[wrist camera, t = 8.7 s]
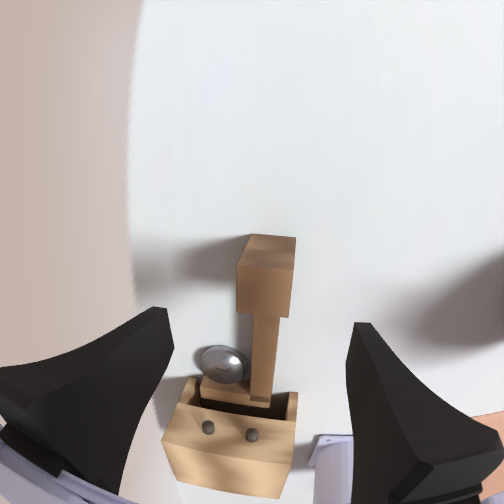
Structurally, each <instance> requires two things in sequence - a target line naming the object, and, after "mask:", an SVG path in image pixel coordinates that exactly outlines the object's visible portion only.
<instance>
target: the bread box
mask: <svg viewBox="0 0 504 504" xmlns="http://www.w3.org/2000/svg"><path fill="white" fill-rule="evenodd" d="M297 402H298V393H295V392H290V393H289V398H288V403H287V408H286V412H285V417H284V421H283V420H274V419H266V418H258V417H251V416H244V415H238V414H232V413H226V412H221V411H215V410H210V409H205V408H201V405H200V397H199V389H198V381H197V378H194V377H189V379H188V381H187V383H186V385H185V387H184V390H183V392H182V394H181V396H180V399H179V401H178V403H177V405H176V408H175V410H174V412H173V414H172V417H171V419H170V421H169V423H168V426H167V428H166V430H165V432H164V435H163V437H162V439H161V443H162V445H163V448H164V451H165V453H166V456H167V458H168V461H169V463H170V466H171V468H172V470H173V473H174V475H175V477H176V480H177V481H181V482H184V483H188V484H192V485H196V486H200V487H205V488H209V489H214V490H219V491H224V492H230V493H235V494H242V495H248V496H255V497H263V498H272V499H279V498H280V495H281V493H282V490H283V487H284V485H285V482H286V480H287V477H288V474H289V471H290V469H291V466H292V459H293V449H294V438H295V427H296V415H297Z"/></svg>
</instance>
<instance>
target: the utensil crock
mask: <svg viewBox="0 0 504 504" xmlns="http://www.w3.org/2000/svg"><path fill="white" fill-rule="evenodd" d="M471 418H472V419H474V420H476V421H478V422H480V423H482V424H484V425H486V426H489V427H491V428H493V429H495V430H497V431H498V433H499V436H500V438H501V441H502V444H503V446H504V411H502V412H497V413H492V414H487V415H482V416H477V417H471ZM481 483H482V487H483V492H482V493H481V494H479V498H480V501H482V500H483V499H485V498H487V497H489V496H492V495H494V494H497V493H499V492H502V491H504V460H503V461H502V463H501V464H500V465H499V466H498V468H497V469H496V470H494V471H493V472H492V473H491V474H490V475H489V476H488V477H487V478H486V479H485V480H484V481H482V482H481Z"/></svg>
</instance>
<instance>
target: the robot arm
mask: <svg viewBox="0 0 504 504" xmlns="http://www.w3.org/2000/svg"><path fill="white" fill-rule="evenodd" d="M173 350H174V343H173V338H172V333H171V328H170V323H169V318H168V313H167V308H161V307H154V306H153V307H151V308H149V309H147V310H146V311H144V312H142V313H140V314H139V315H137V316H135V317H134V318H132V319H131V320H129V321H127V322H126V323H124V324H122V325H121V326H119V327H117V328H116V329H115V330H112V331H111V332H109V333H107V334H105V335H103V336H102V337H100V338H98V339H96V340H94V341H92V342H90V343H88V344H86V345H84V346H82V347H79V348H77V349H75V350H72V351H70V352H67V353H64V354H61V355H58V356H56V357H52V358H49V359H45V360H42V361H38V362H33V363H28V364H23V365H16V366H7V367H1V368H0V415H1V416H2V417H3V418H4V420H5V421H6V422H7V424H6V425H5V426H4V427H3V426H2V425H1V424H0V494H1V495H2V496H3V497H4V498H5V499H6V500H7V501H9V502H10V503H11V504H138V503H135V502H133V501H130V500H127V499H125V498H122V497H119V496H118V494H119V488H120V484H121V479H122V474H123V470H124V466H125V463H126V459H127V455H128V452H129V449H130V446H131V443H132V440H133V437H134V434H135V431H136V429H137V426H138V424H139V421H140V418H141V416H142V414H143V412H144V410H145V407H146V406H147V404H148V402H149V400H150V398H151V397H152V395H153V393H154V391H155V389H156V387H157V386H158V384H159V382H160V380H161V378H162V376H163V375H164V373H165V371H166V369H167V367H168V364H169V361H170V359H171V356H172V353H173ZM346 387H347V394H348V402H349V409H350V416H351V423H352V431H353V436H327V435H323V436H320V437H319V439H318V442H317V444H316V446H315V449H314V451H313V453H312V456H311V458H310V460H309V462H308V467H315V482H314V497H313V504H504V491H502V492H499V493H497V494H494V495H492V496H489V497H487V498H485V499H483V500H482V501H480V498H479V494H481V493H482V492H483V487H482V483H481V482H482V481H484V480H485V479H486V478H487V477H488V476H489V475H490V474H491V473H492V472H493V471H494V470H496V469H497V468H498V466H499V465H500V464H501V463H502V461H503V460H504V446H503V444H502V441H501V438H500V436H499V433H498V431H497V430H495V429H493V428H491V427H489V426H486V425H484V424H482V423H480V422H478V421H476V420H474V419H472V418H470V417H469V416H467V415H465V414H463V413H462V412H460V411H458V410H457V409H455V408H454V407H452V406H451V405H449V404H448V403H447V402H445V401H444V400H443V399H441V398H440V397H439V396H437V395H436V394H435V393H434V392H432V391H431V390H430V389H429V388H428V387H427V386H425V385H424V384H423V383H422V382H421V381H420V380H419V379H418V378H417V377H416V376H415V375H414V374H413V373H412V372H411V371H410V370H409V369H408V368H407V367H406V366H405V365H404V364H403V363H402V362H401V360H400V359H399V358H398V357H397V356H396V355H395V353H394V352H393V351H392V350H391V348H390V347H389V346H388V345H387V343H386V342H385V341H384V340H383V338H382V337H381V336H380V334H379V333H378V332H377V331H376V329H375V328H374V327H373V325H372V324H371V323H363V322H354V327H353V332H352V337H351V341H350V346H349V350H348V355H347V359H346Z"/></svg>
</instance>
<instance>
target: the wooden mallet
mask: <svg viewBox="0 0 504 504" xmlns="http://www.w3.org/2000/svg"><path fill="white" fill-rule="evenodd" d="M295 245H296V237H285V236H273V235H262V234H251V236H250V238H249V240H248V242H247V244H246V247H245V249H244V251H243V253H242V255H241V257H240V259H239V261H238V263H237V272H236V312H240V313H248V314H254V320H253V343H252V366H251V381H249V380H242V379H241V380H240V381H239V382H237V383H234V384H221V383H217V382H215V381H212V380H211V379H209V378H208V377H207V376H205V375H204V377H203V380H202V382H201V385H200V393H201V398H206V399H211V400H217V401H222V402H228V403H234V404H241V405H248V406H255V407H263V408H269V407H270V401H271V394H272V386H273V378H274V369H275V360H276V351H277V342H278V332H279V323H280V317H285V318H288V316H289V308H290V299H291V289H292V280H293V270H294V258H295Z"/></svg>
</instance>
